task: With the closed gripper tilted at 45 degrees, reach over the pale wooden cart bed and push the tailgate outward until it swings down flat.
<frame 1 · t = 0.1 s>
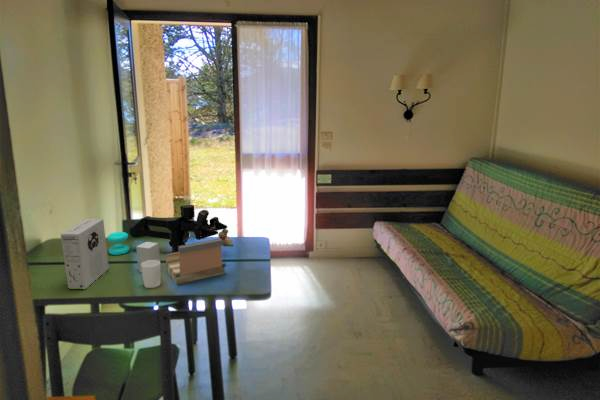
hand: (222, 229, 208), 17 cm above the table, tool horizontal, fingers open, 9 cm apart
white cup: (152, 285, 187), on the table
donuts: (119, 252, 223), on the table
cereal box: (89, 279, 192), on the table
supplement box: (149, 270, 202), on the table
tailgate: (201, 257, 188), point 11 cm above the table, hinge at 0.0°
cart bed: (195, 272, 199), on the table
chocolate bunny: (226, 244, 235), on the table
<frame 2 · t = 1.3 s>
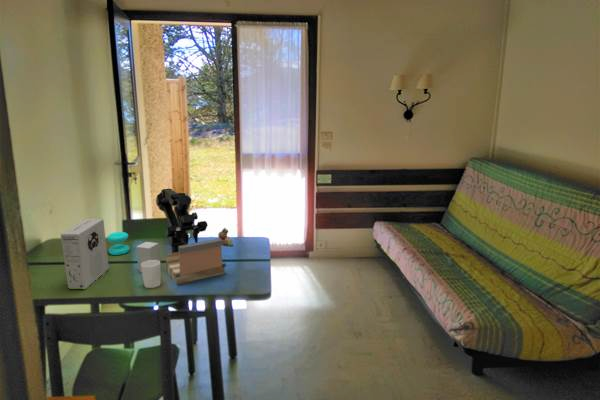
hand: (191, 244, 199), 13 cm above the table, tool tilted 45°, fingers open, 5 cm apart
nothing on the table moved.
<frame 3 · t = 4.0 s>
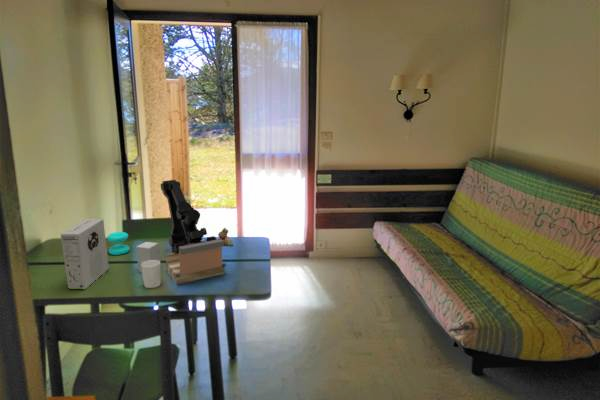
hand: (200, 261, 190), 8 cm above the table, tool tilted 45°, fingers closed, pressing on tailgate
tailgate: (201, 257, 188), point 11 cm above the table, hinge at 3.7°, touching gripper
everything else where it was.
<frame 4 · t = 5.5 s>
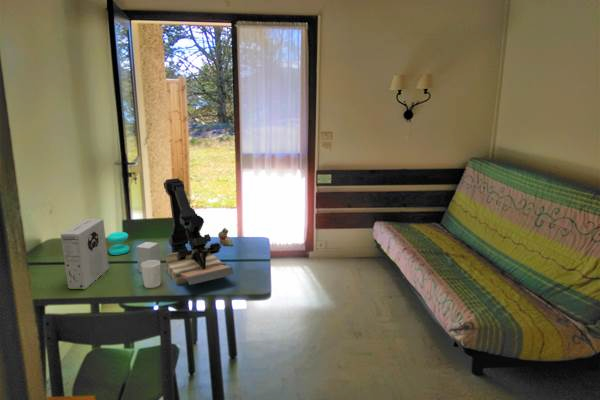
hand: (204, 268, 187), 7 cm above the table, tool tilted 45°, fingers closed
tailgate: (206, 274, 185), point 5 cm above the table, hinge at 76.5°
everything else where it was.
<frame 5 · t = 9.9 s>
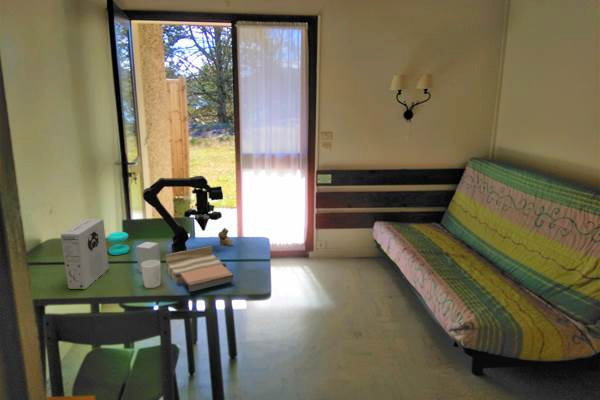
hand: (203, 230, 221), 12 cm above the table, tool pointing down, fingers closed
tailgate: (206, 277, 186), point 4 cm above the table, hinge at 90.1°
everything else where it was.
at the end: tailgate at +90° (first picture: +0°) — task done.
